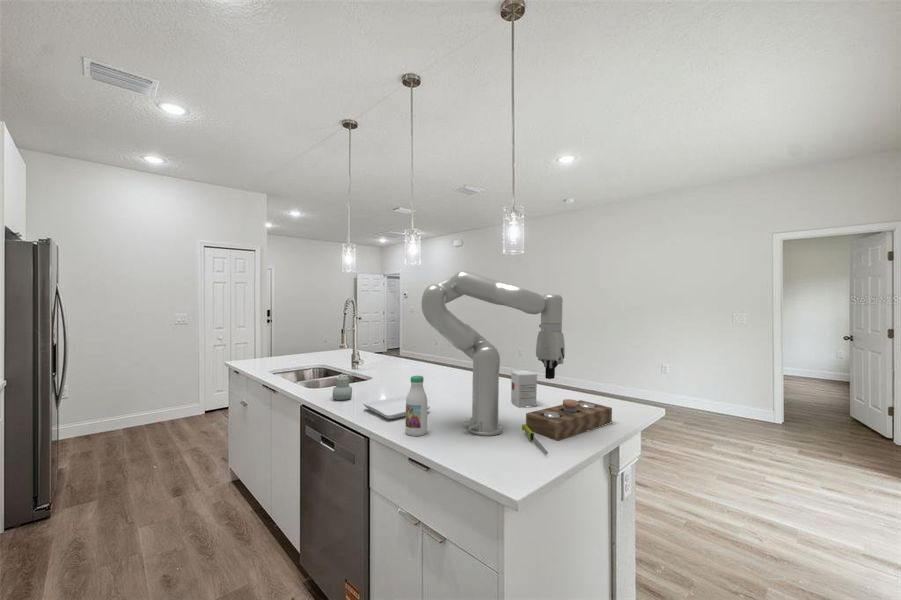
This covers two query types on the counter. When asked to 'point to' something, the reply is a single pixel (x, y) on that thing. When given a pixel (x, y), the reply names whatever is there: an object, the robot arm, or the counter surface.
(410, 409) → the milk bottle
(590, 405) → the knob far
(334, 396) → the air freshener
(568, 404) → the knob middle
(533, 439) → the kitchen knife
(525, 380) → the supplement box
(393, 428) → the counter surface
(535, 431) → the brown wooden rectangular block
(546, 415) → the knob near
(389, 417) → the salad plate
